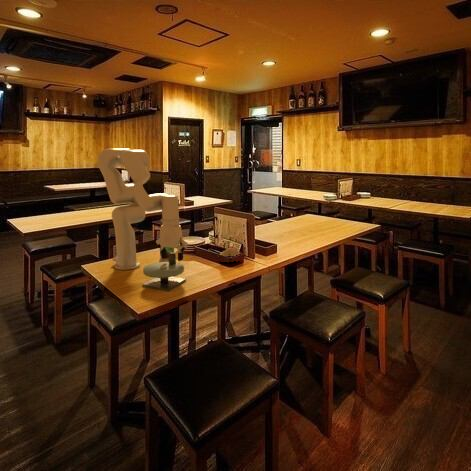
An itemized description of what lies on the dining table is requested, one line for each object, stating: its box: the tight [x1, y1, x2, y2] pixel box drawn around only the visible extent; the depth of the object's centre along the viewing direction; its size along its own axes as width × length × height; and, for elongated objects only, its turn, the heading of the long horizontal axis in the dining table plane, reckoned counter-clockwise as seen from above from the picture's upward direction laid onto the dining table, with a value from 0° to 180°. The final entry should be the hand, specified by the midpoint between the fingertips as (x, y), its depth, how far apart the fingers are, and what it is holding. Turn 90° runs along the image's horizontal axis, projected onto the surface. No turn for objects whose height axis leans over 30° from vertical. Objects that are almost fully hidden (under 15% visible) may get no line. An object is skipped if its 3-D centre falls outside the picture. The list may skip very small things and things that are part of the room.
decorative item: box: [219, 247, 241, 256], centre depth 199 cm, size 12×9×10 cm
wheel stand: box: [141, 276, 187, 292], centre depth 166 cm, size 14×14×6 cm
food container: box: [159, 247, 175, 259], centre depth 207 cm, size 12×6×10 cm, turn 159°
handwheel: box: [142, 251, 185, 279], centre depth 164 cm, size 18×18×6 cm
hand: (172, 259), depth 170 cm, fingers open, 8 cm apart
